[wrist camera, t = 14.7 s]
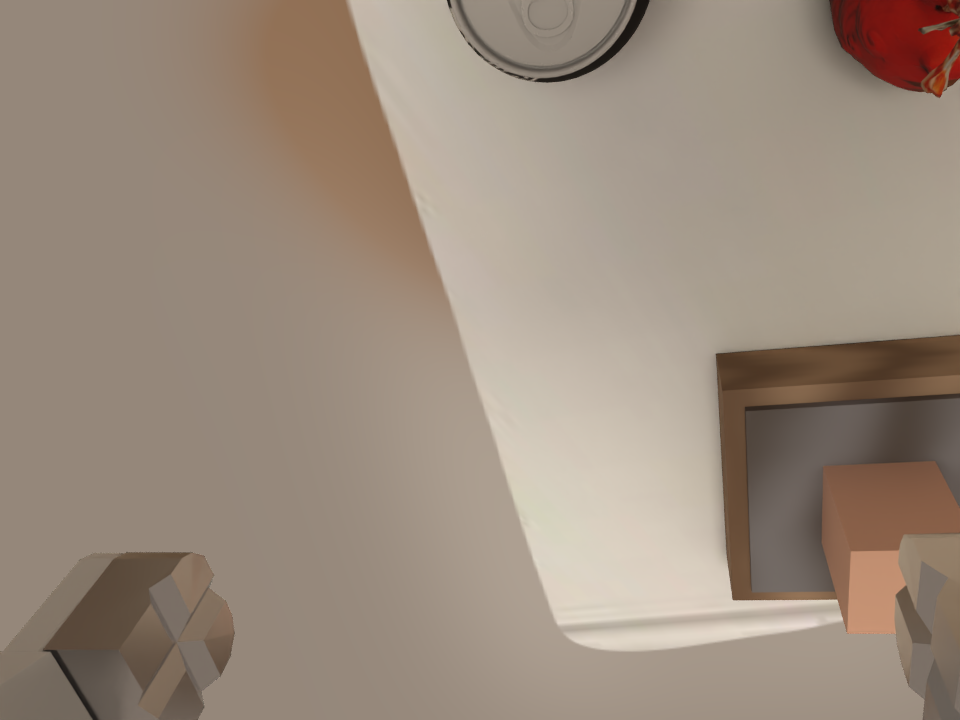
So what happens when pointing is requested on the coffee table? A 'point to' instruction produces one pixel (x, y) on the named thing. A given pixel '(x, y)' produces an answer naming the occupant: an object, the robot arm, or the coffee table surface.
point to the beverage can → (547, 34)
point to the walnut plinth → (822, 445)
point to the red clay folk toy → (903, 40)
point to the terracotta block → (878, 532)
